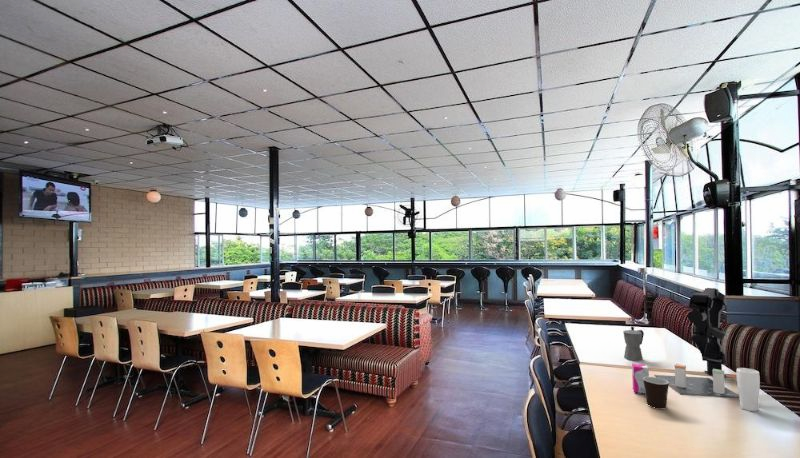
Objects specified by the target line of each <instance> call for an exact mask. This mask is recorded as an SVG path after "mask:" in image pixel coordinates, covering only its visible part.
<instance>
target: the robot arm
mask: <svg viewBox="0 0 800 458" xmlns="http://www.w3.org/2000/svg"><path fill="white" fill-rule="evenodd" d="M727 301H728V300H727V298H726V296H725V294H723V293H722V292H720V291H719V289H718V288H714V287H707V288H704V290H703V291H702V292H700V293H695V292H694V293H692V294H691V295H690V298H689V304H688V309H691V310H692V311H691V310H690V311H689V312H688V314H687V320H688V321H689V322H691V323H692V324H693V327H694V331H693V333H692V334H691V336H690V342H694V344H695V345H696V347H697V348H698V350H699V352H700V354H701V359H702V361H703V362H706V370H704V371H705V372H706V373H705V372H704V373H705V374H707V375H709V376H712V377H713V373H712V370H713V369H718V370H723V367H722V366H723V365H727V362H728V361H727V356H726V354H725V351H724V349H723V347H722V345H721V343H720V340H721V341H723V340H724V338H725V336H726V334H727V332H726V330H724V328H723V327H721V314H722V313H724V311H725V310H726V306H727V304H728V303H727ZM724 377H726V374H724Z"/></svg>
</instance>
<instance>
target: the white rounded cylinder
mask: <svg viewBox="0 0 800 458" xmlns="http://www.w3.org/2000/svg"><path fill="white" fill-rule="evenodd" d="M760 379H761V378H760V372H759V371H758V370H756V369H753V368H746V367H737V368H736V385H737V389H738V395H739V398H738V399H739V407H740V408H741V409H742V410H745V411H747V412H753V413H754V412H758V411H759V403H760V402H759V400H760V399H759V397H760V389H761V388H760V386H761V384H760V382H761V380H760Z"/></svg>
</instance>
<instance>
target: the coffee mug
mask: <svg viewBox="0 0 800 458" xmlns="http://www.w3.org/2000/svg"><path fill="white" fill-rule="evenodd" d="M643 381H644V388H645V394H646V395H645V394H644V395H645V399H646V405H647V404H648V405H650V406H652V407H655V408H654V409H656V408H666V409H667V403H668V402H667V401H668V393H669V386H668V385H669V382H668V381H666V380H664V379H661V378H657V377H655V376H649V377H644V378H643ZM648 405H647V406H648ZM650 406H649V407H650ZM652 407H651V408H652Z"/></svg>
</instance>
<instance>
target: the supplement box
mask: <svg viewBox="0 0 800 458" xmlns="http://www.w3.org/2000/svg"><path fill="white" fill-rule="evenodd" d="M649 370H650V368H649V367H648V366H647V364H640V363H631V372H632V373H631V377H632V378H631V380H632V390H634V391H633V392H635V393H634V394H637V393H641V394H640V395H645V388H644V381H643V378H644V377H650V374H649V373H650V371H649Z"/></svg>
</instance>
